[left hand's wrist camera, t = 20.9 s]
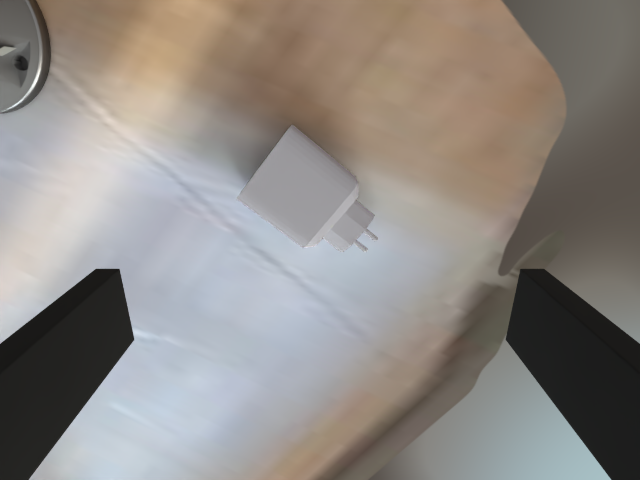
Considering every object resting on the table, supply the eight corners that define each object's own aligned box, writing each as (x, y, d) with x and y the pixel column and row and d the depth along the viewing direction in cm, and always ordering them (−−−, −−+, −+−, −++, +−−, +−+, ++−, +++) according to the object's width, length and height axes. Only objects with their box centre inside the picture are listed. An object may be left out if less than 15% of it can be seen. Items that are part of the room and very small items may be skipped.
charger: (344, 265, 46) (242, 189, 43) (395, 208, 44) (292, 123, 40) (346, 283, 42) (233, 200, 38) (404, 221, 39) (288, 126, 36)
